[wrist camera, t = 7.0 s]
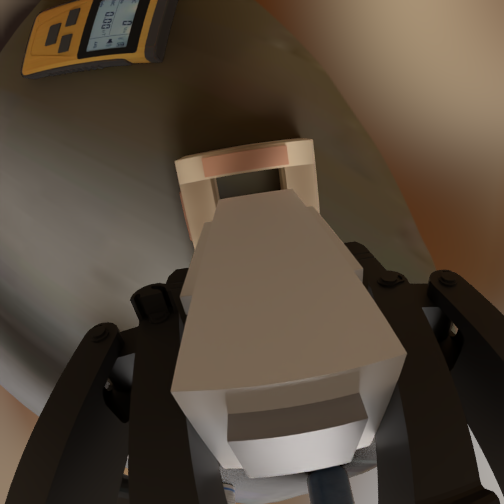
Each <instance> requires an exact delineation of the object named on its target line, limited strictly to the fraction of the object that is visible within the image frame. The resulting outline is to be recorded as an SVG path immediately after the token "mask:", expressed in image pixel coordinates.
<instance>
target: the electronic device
mask: <svg viewBox="0 0 504 504" xmlns="http://www.w3.org/2000/svg"><path fill="white" fill-rule="evenodd" d="M177 3H178V0H73V1H70V2H67V3H64V4H60V5H57V6H54V7H52V8H49V9H46V10H43V11H42V12H40V13H39V14H38V15H37V16H36V18H35V20H34V23H33V26H32V29H31V32H30V36H29V39H28V43H27V46H26V50H25V54H24V58H23V63H22V67H21V75H22V77H24V78H29V79H37V78H42V77H46V76H55V75H61V74H66V73H72V72H78V71H84V70H90V69H94V70H96V69H97V68H99V69H103V68H104V67H111V66H124V65H132V64H133V63H150V62H162V61H163V59H164V54H165V49H166V45H167V41H168V36H169V32H170V28H171V24H172V21H173V17H174V13H175V10H176V6H177Z"/></svg>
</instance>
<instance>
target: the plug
mask: <svg viewBox="0 0 504 504" xmlns="http://www.w3.org/2000/svg"><path fill="white" fill-rule="evenodd" d="M406 355H407V352H406V351H405V349H404V347H403V346H402V344H401V342H400V341H399V339H398V338H397V336H396V334H395V333H394V331H393V329H392V328H391V326H390V325H389V323H388V321H387V320H386V318H385V317H384V315H383V314H382V312H381V311H380V309H379V307H378V306H377V304H376V303H375V301H374V300H373V298H372V297H371V295H370V294H369V292H368V291H367V289H366V288H365V286H364V285H363V283H362V282H361V281H360V279H359V278H358V276H357V275H356V273H355V272H354V270H353V269H352V268H351V266H350V265H349V263H348V262H347V261H346V259H345V258H344V256H343V255H342V254H341V252H340V251H339V249H338V248H337V247H336V245H335V244H334V243H333V241H332V240H331V238H330V237H329V236H328V234H327V233H326V232H325V230H324V229H323V228H322V226H321V225H320V224H319V222H318V221H317V220H316V219H315V217H314V216H313V215H312V213H311V212H310V211H309V209H308V208H307V207H306V206H305V204H304V203H303V202H302V201H301V199H300V198H299V197H298V195H297V194H296V193H295V192H294V190H293V189H285V190H277V191H270V192H263V193H257V194H250V195H244V196H238V197H231V198H225V199H220V200H218V204H217V207H216V211H215V214H214V217H213V221H212V224H211V228H210V231H209V235H208V238H207V242H206V246H205V249H204V253H203V257H202V260H201V264H200V268H199V272H198V275H197V279H196V283H195V287H194V291H193V295H192V299H191V303H190V307H189V311H188V315H187V319H186V323H185V328H184V332H183V336H182V341H181V345H180V349H179V354H178V358H177V363H176V368H175V372H174V377H173V382H172V387H171V393H172V395H173V396H174V398H175V400H176V401H177V403H178V405H179V406H180V408H181V409H182V411H183V412H184V414H185V415H186V417H187V418H188V420H189V421H190V423H191V424H192V426H193V427H194V429H195V430H196V431H197V433H198V434H199V436H200V437H201V439H202V440H203V441H204V443H205V444H206V446H207V447H208V448H209V450H210V451H211V452H212V454H213V455H214V456H215V458H216V459H217V460H218V462H219V463H220V464H221V465H222V467H223V468H224V469H236V468H243V469H244V470H245V472H246V474H247V475H248V477H249V478H262V477H272V476H281V475H288V474H295V473H302V472H308V471H313V470H318V469H323V468H328V467H332V466H337V465H341V464H345V463H349V462H351V460H352V458H353V456H354V453H355V451H356V450H357V449H360V448H364V447H367V446H370V444H371V442H372V440H373V438H374V436H375V433H376V431H377V429H378V427H379V425H380V422H381V420H382V418H383V416H384V413H385V411H386V409H387V406H388V404H389V401H390V399H391V396H392V394H393V391H394V388H395V386H396V383H397V381H398V379H399V376H400V373H401V370H402V367H403V364H404V361H405V358H406Z"/></svg>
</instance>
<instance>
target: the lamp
mask: <svg viewBox="0 0 504 504" xmlns="http://www.w3.org/2000/svg"><path fill="white" fill-rule="evenodd" d="M307 486H308V492H309V498H310V504H355V502H354V498H353V494H352V490H351V486H350V482H349V478H348V474H347V471H346V470H345V468H343V467H342V466H332V467H328V468H323V469H318V470H315V471H313V472H312V473H311V474H310V475H309V476H308V478H307Z"/></svg>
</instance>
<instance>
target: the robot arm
mask: <svg viewBox="0 0 504 504" xmlns="http://www.w3.org/2000/svg"><path fill="white" fill-rule="evenodd" d="M307 208H308V209H309V211H310V212H311V213H312V215H313V216H314V217H315V219H316V220H317V221H318V222H319V224H320V225H321V226H322V228H323V229H324V230H325V232H326V233H327V234H328V236H329V237H330V238H331V240H332V241H333V243H334V244H335V245H336V247H337V248H338V249H339V251H340V252H341V254H342V255H343V256H344V258H345V259H346V261H347V262H348V263H349V265H350V266H351V268H352V269H353V270H354V272H355V273H356V275H357V276H358V278H359V279H360V281H361V282H362V283H363V285H364V286H365V288H366V289H367V291H368V292H369V294H370V295H371V297H372V298H373V300H374V301H375V303H376V304H377V306H378V307H379V309H380V311H381V312H382V314H383V315H384V317H385V318H386V320H387V321H388V323H389V325H390V326H391V328H392V329H393V331H394V333H395V334H396V336H397V338H398V339H399V341H400V342H401V344H402V346H403V347H404V349H405V351H406V352H407V355H406V358H405V361H404V364H403V367H402V370H401V373H400V376H399V379H398V381H397V383H396V386H395V388H394V391H393V394H392V396H391V399H390V401H389V404H388V406H387V409H386V411H385V413H384V416H383V418H382V420H381V422H380V425H379V427H378V429H377V431H376V433H375V440H376V453H377V470H378V504H500V501H499V498H498V497H497V495H496V494H495V493H494V492H493V491H490V490H487V489H485V488H484V487H483V486H482V485H481V482H480V478H479V472H478V467H477V462H476V457H475V452H474V449H473V444H472V440H471V436H470V432H469V428H468V425H469V427H470V429H471V431H472V432H473V434H474V436H475V438H476V440H477V442H478V444H479V445H480V447H481V449H482V451H483V453H484V455H485V457H486V459H487V461H488V463H489V465H490V467H491V469H492V471H493V473H494V476H495V478H496V480H497V482H498V484H499V487H500V489H501V491H502V494H503V496H504V315H503V314H502V313H501V312H500V311H499V310H498V309H497V308H496V307H494V306H493V305H492V304H491V303H490V302H489V301H488V300H487V299H486V298H485V297H484V296H483V295H482V294H481V293H479V292H478V291H477V290H476V289H475V288H474V287H473V286H472V285H470V284H469V283H468V282H467V281H466V280H465V279H463V278H462V277H461V276H460V275H458V274H457V273H455V272H452V271H449V270H438V271H435V272H433V273H432V274H431V275H430V277H429V282H428V284H410V283H409V282H408V280H407V279H406V277H405V276H404V275H402V274H400V273H398V272H394V271H386V269H385V268H384V267H383V266H382V265H381V264H380V263H379V261H378V260H377V259H376V258H374V256H373V255H372V254H371V253H370V251H369V250H368V249H367V248H366V247H365V246H364V245H362V244H360V243H358V242H348V243H343V242H342V241H341V240H340V238H339V237H338V236H337V235H336V233H335V232H334V231H333V230H332V228H331V227H330V226H329V225H328V224H327V222H326V221H325V220H324V219H323V218H322V216H321V215H320V214H319V213H318V212H317V210H316V209H315V208H314V207H313V206H310V207H307ZM211 224H212V221H210V222H205V223H204V226H203V228H202V231H201V234H200V237H199V240H198V243H197V246H196V248H195V251H194V254H193V257H192V260H191V263H190V266H189V268H184V269H177V270H175V271H174V272H173V273H172V274H171V275H170V276H169V277H168V280H167V282H166V284H162V283H156V284H151V285H148V286H145V287H143V288H141V289H139V290H138V291H136V292H135V293H134V294H133V295H132V297H131V299H130V301H131V303H132V305H133V308H134V310H135V312H136V314H137V317H138V319H139V326H138V327H135V328H132V329H129V330H125V331H122V332H120V331H119V329H118V327H117V326H116V325H115V324H114V323H109V322H107V323H101V324H98V325H96V326H94V327H93V328H92V329H90V330H89V331H88V332H87V333H86V335H85V336H84V338H83V339H82V341H81V343H80V344H79V346H78V347H77V349H76V351H75V352H74V354H73V356H72V357H71V359H70V361H69V363H68V364H67V366H66V368H65V370H64V371H63V373H62V375H61V377H60V378H59V380H58V382H57V384H56V386H55V388H54V389H53V391H52V393H51V395H50V397H49V399H48V401H47V403H46V405H45V407H44V409H43V411H42V413H41V415H40V417H39V419H38V421H37V423H36V425H35V427H34V429H33V431H32V434H31V436H30V438H29V440H28V443H27V445H26V447H25V450H24V452H23V454H22V457H21V459H20V462H19V464H18V467H17V470H16V472H15V475H14V478H13V480H12V483H11V486H10V489H9V492H8V496H7V499H6V502H5V504H228V503H227V499H226V495H225V491H224V487H223V483H222V479H221V474H220V470H219V466H220V463H219V462H218V460H217V459H216V458H215V456H214V455H213V454H212V452H211V451H210V450H209V448H208V447H207V446H206V444H205V443H204V441H203V440H202V439H201V437H200V436H199V434H198V433H197V431H196V430H195V429H194V427H193V426H192V424H191V423H190V421H189V420H188V418H187V417H186V415H185V414H184V412H183V411H182V409H181V408H180V406H179V405H178V403H177V401H176V400H175V398H174V396H173V395H172V393H171V387H172V382H173V377H174V372H175V368H176V363H177V358H178V354H179V349H180V345H181V341H182V336H183V332H184V328H185V323H186V319H187V315H188V311H189V307H190V303H191V299H192V295H193V291H194V287H195V283H196V279H197V275H198V272H199V268H200V264H201V260H202V257H203V253H204V249H205V246H206V242H207V238H208V235H209V231H210V228H211ZM453 323H454V324H455V325H456V327H457V328H458V332H457V334H456V335H455V334H454V333H453V332H452V331H451V329H452V326H453ZM107 380H108V382H109V383H110V385H109V387H108V388H107V389H105V387H104V386H105V384H106V382H107ZM467 424H468V425H467ZM127 458H128V475H125V474H123V473H124V469H125V465H126V461H127Z"/></svg>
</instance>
